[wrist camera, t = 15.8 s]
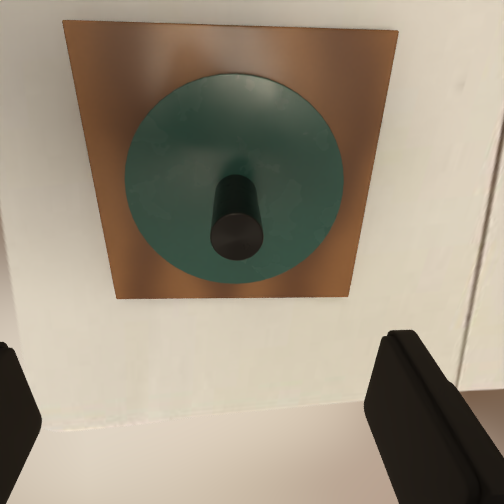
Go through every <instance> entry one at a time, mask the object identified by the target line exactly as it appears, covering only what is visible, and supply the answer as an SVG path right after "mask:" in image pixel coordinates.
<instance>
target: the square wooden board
mask: <svg viewBox="0 0 504 504" xmlns="http://www.w3.org/2000/svg"><path fill="white" fill-rule="evenodd" d="M62 23H63V28H64V33H65V38H66V43H67V49H68V54H69V59H70V64H71V69H72V74H73V79H74V84H75V89H76V95H77V100H78V105H79V110H80V115H81V120H82V125H83V130H84V135H85V141H86V146H87V151H88V156H89V161H90V166H91V171H92V176H93V182H94V187H95V192H96V197H97V202H98V207H99V212H100V217H101V222H102V228H103V233H104V238H105V243H106V248H107V253H108V258H109V263H110V268H111V274H112V279H113V284H114V289H115V294H116V298H117V299H167V298H286V297H348V295H349V290H350V285H351V280H352V274H353V269H354V264H355V259H356V253H357V248H358V243H359V238H360V232H361V227H362V222H363V217H364V212H365V206H366V201H367V196H368V191H369V185H370V180H371V175H372V170H373V164H374V159H375V154H376V149H377V143H378V138H379V133H380V128H381V122H382V117H383V112H384V107H385V101H386V96H387V91H388V86H389V80H390V75H391V70H392V65H393V59H394V54H395V49H396V44H397V39H398V33H399V31H397V30H367V29H335V28H303V27H272V26H240V25H208V24H177V23H145V22H113V21H82V20H63V21H62ZM224 73H242V74H252V75H256V76H260V77H265V78H268V79H271V80H273V81H276V82H278V83H281V84H283V85H285V86H286V87H288V88H290V89H292V90H293V91H295V92H297V93H298V94H299V95H300V96H302V97H303V98H304V99H305V100H307V101H308V102H309V103H310V104H311V105H312V106H313V107H314V108H315V109H316V110H317V111H318V112H319V113H320V114H321V116H322V117H323V119H324V120H325V121H326V123H327V124H328V126H329V127H330V129H331V131H332V133H333V135H334V137H335V139H336V142H337V145H338V148H339V151H340V154H341V159H342V164H343V175H344V185H343V195H342V200H341V204H340V208H339V211H338V214H337V217H336V219H335V221H334V223H333V225H332V227H331V229H330V231H329V233H328V234H327V236H326V237H325V239H324V240H323V241H322V243H321V244H320V245H319V246H318V247H317V248H316V250H315V251H314V252H313V253H312V254H310V255H309V256H308V257H307V258H306V259H305V260H304V261H302V262H301V263H299V264H298V265H296V266H295V267H293V268H292V269H290V270H288V271H286V272H284V273H282V274H280V275H277V276H275V277H272V278H269V279H266V280H262V281H257V282H252V283H242V284H228V283H218V282H212V281H208V280H204V279H200V278H197V277H195V276H192V275H190V274H187V273H185V272H184V271H182V270H180V269H178V268H176V267H175V266H173V265H172V264H170V263H169V262H167V261H166V260H165V259H163V258H162V257H161V256H160V255H159V254H158V253H157V252H156V251H155V250H154V249H153V248H152V247H151V246H150V245H149V244H148V243H147V241H146V240H145V238H144V237H143V236H142V234H141V233H140V231H139V229H138V227H137V225H136V224H135V222H134V220H133V217H132V214H131V212H130V209H129V206H128V202H127V197H126V192H125V180H124V179H125V164H126V159H127V154H128V150H129V147H130V144H131V142H132V139H133V136H134V134H135V133H136V131H137V129H138V127H139V125H140V123H141V122H142V121H143V119H144V118H145V117H146V115H147V114H148V113H149V111H150V110H151V109H152V108H153V107H154V106H155V105H156V104H157V103H158V102H159V101H160V100H161V99H163V98H164V97H165V96H167V95H168V94H170V93H171V92H172V91H174V90H175V89H177V88H179V87H181V86H183V85H184V84H186V83H188V82H191V81H194V80H196V79H199V78H202V77H206V76H211V75H216V74H224Z"/></svg>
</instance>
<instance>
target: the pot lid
mask: <svg viewBox="0 0 504 504" xmlns="http://www.w3.org/2000/svg"><path fill="white" fill-rule="evenodd" d="M124 180H125V192H126V197H127V202H128V206H129V209H130V212H131V214H132V217H133V220H134V222H135V224H136V225H137V227H138V229H139V231H140V233H141V234H142V236H143V237H144V238H145V240H146V241H147V243H148V244H149V245H150V246H151V247H152V248H153V249H154V250H155V251H156V252H157V253H158V254H159V255H160V256H161V257H162V258H163V259H165V260H166V261H167V262H169V263H170V264H172V265H173V266H175V267H176V268H178V269H180V270H182V271H184V272H185V273H187V274H190V275H192V276H195V277H197V278H200V279H204V280H208V281H212V282H218V283H228V284H242V283H252V282H257V281H262V280H266V279H269V278H272V277H275V276H277V275H280V274H282V273H284V272H286V271H288V270H290V269H292V268H293V267H295V266H296V265H298V264H299V263H301V262H302V261H304V260H305V259H306V258H307V257H308V256H309V255H310V254H312V253H313V252H314V251H315V250H316V248H317V247H318V246H319V245H320V244H321V243H322V241H323V240H324V239H325V237H326V236H327V234H328V233H329V231H330V229H331V227H332V225H333V223H334V221H335V219H336V217H337V214H338V211H339V208H340V204H341V200H342V195H343V185H344V175H343V164H342V159H341V154H340V151H339V148H338V145H337V142H336V139H335V137H334V135H333V133H332V131H331V129H330V127H329V126H328V124H327V123H326V121H325V120H324V119H323V117H322V116H321V114H320V113H319V112H318V111H317V110H316V109H315V108H314V107H313V106H312V105H311V104H310V103H309V102H308V101H307V100H305V99H304V98H303V97H302V96H300V95H299V94H298V93H297V92H295V91H293V90H292V89H290V88H288V87H286V86H285V85H283V84H281V83H278V82H276V81H273V80H271V79H268V78H265V77H260V76H256V75H252V74H242V73H224V74H216V75H211V76H206V77H202V78H199V79H196V80H194V81H191V82H188V83H186V84H184V85H183V86H181V87H179V88H177V89H175V90H174V91H172V92H171V93H170V94H168V95H167V96H165V97H164V98H163V99H161V100H160V101H159V102H158V103H157V104H156V105H155V106H154V107H153V108H152V109H151V110H150V111H149V113H148V114H147V115H146V117H145V118H144V119H143V121H142V122H141V123H140V125H139V127H138V129H137V131H136V133H135V134H134V136H133V139H132V142H131V144H130V147H129V150H128V154H127V159H126V164H125V179H124Z"/></svg>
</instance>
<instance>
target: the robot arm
mask: <svg viewBox="0 0 504 504" xmlns="http://www.w3.org/2000/svg"><path fill="white" fill-rule="evenodd" d="M364 412H365V416H366V418H367V421H368V424H369V426H370V429H371V432H372V434H373V437H374V439H375V442H376V444H377V447H378V450H379V452H380V455H381V458H382V460H383V463H384V465H385V468H386V470H387V473H388V476H389V478H390V481H391V484H392V486H393V489H394V491H395V494H396V497H397V499H398V502H399V504H504V458H503V456H502V455H501V453H500V452H499V450H498V449H497V447H496V446H495V444H494V443H493V441H492V440H491V438H490V437H489V435H488V434H487V432H486V431H485V430H484V428H483V427H482V425H481V424H480V422H479V421H478V419H477V418H476V416H475V415H474V413H473V412H472V410H471V409H470V407H469V406H468V404H467V403H466V402H465V400H464V398H463V397H462V395H461V394H460V393H459V391H458V390H457V388H456V387H455V386H454V385H453V384H452V383H451V382H449V381H448V380H447V378H446V377H445V375H444V374H443V372H442V371H441V369H440V368H439V366H438V365H437V363H436V362H435V360H434V359H433V357H432V356H431V354H430V353H429V351H428V350H427V348H426V347H425V345H424V344H423V342H422V341H421V339H420V338H419V336H418V335H417V334H416V332H415V331H413V330H392V331H389V332H388V334H387V336H383V337H382V339H381V342H380V346H379V350H378V353H377V357H376V361H375V364H374V368H373V371H372V375H371V379H370V382H369V386H368V390H367V393H366V397H365V401H364ZM41 424H42V418H41V414H40V412H39V410H38V407H37V405H36V402H35V400H34V397H33V395H32V392H31V390H30V388H29V385H28V383H27V380H26V378H25V375H24V373H23V370H22V368H21V366H20V363H19V361H18V358H17V356H16V353H15V351H14V350H13V349H12V348H8V346H7V344H6V343H4V342H0V504H6V502H7V500H8V498H9V496H10V494H11V491H12V490H13V488H14V485H15V483H16V481H17V479H18V477H19V475H20V472H21V470H22V468H23V466H24V464H25V462H26V459H27V457H28V455H29V453H30V451H31V449H32V447H33V445H34V443H35V440H36V438H37V436H38V434H39V432H40V429H41Z"/></svg>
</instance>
